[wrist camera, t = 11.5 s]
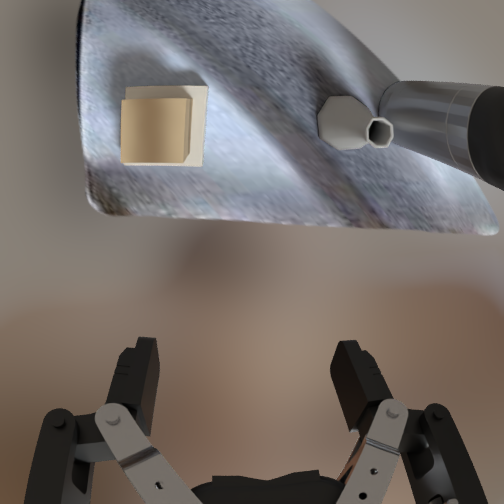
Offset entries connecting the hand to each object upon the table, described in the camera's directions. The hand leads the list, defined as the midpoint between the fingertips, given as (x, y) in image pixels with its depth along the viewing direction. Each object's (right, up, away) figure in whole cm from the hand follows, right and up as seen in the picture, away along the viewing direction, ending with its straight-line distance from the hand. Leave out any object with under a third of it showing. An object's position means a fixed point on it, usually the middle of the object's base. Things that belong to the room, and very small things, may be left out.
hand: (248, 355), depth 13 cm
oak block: (-9, +18, +18) cm, 27 cm away
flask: (+11, +20, +23) cm, 33 cm away
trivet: (-10, +19, +21) cm, 30 cm away
